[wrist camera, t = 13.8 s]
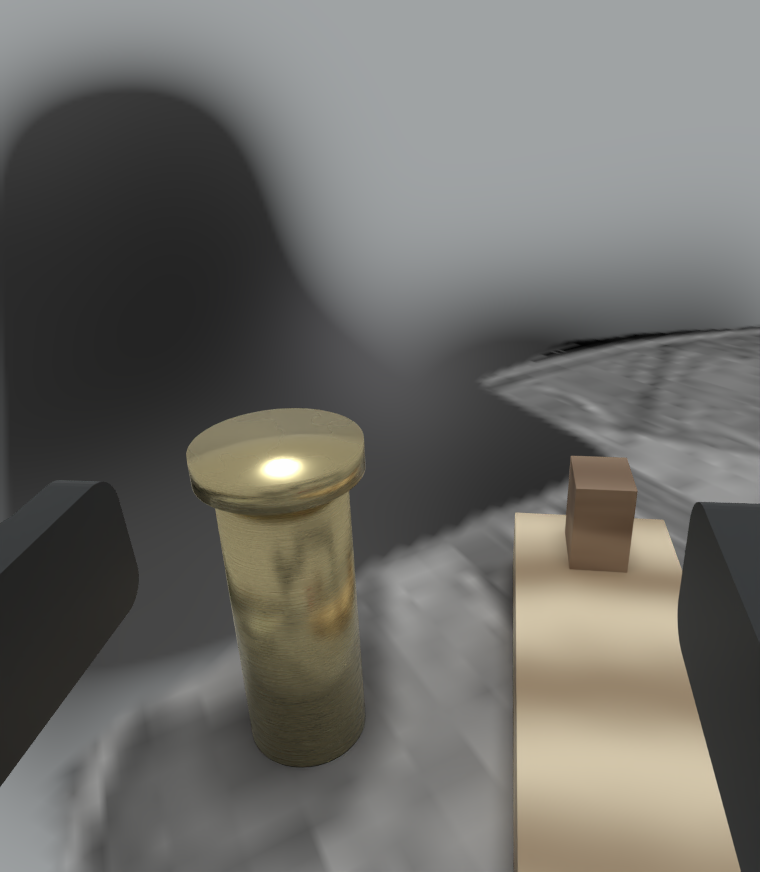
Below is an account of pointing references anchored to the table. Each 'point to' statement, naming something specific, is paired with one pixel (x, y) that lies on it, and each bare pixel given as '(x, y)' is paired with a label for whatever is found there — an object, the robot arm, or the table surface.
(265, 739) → the brass flanged cylinder
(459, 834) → the table surface
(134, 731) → the table surface
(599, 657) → the body
